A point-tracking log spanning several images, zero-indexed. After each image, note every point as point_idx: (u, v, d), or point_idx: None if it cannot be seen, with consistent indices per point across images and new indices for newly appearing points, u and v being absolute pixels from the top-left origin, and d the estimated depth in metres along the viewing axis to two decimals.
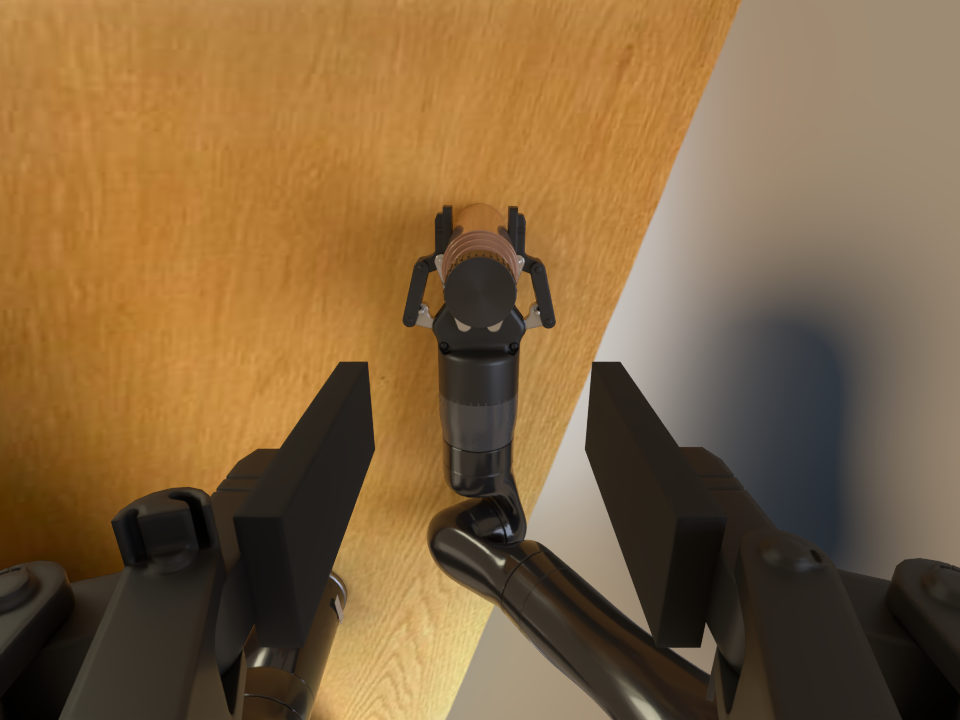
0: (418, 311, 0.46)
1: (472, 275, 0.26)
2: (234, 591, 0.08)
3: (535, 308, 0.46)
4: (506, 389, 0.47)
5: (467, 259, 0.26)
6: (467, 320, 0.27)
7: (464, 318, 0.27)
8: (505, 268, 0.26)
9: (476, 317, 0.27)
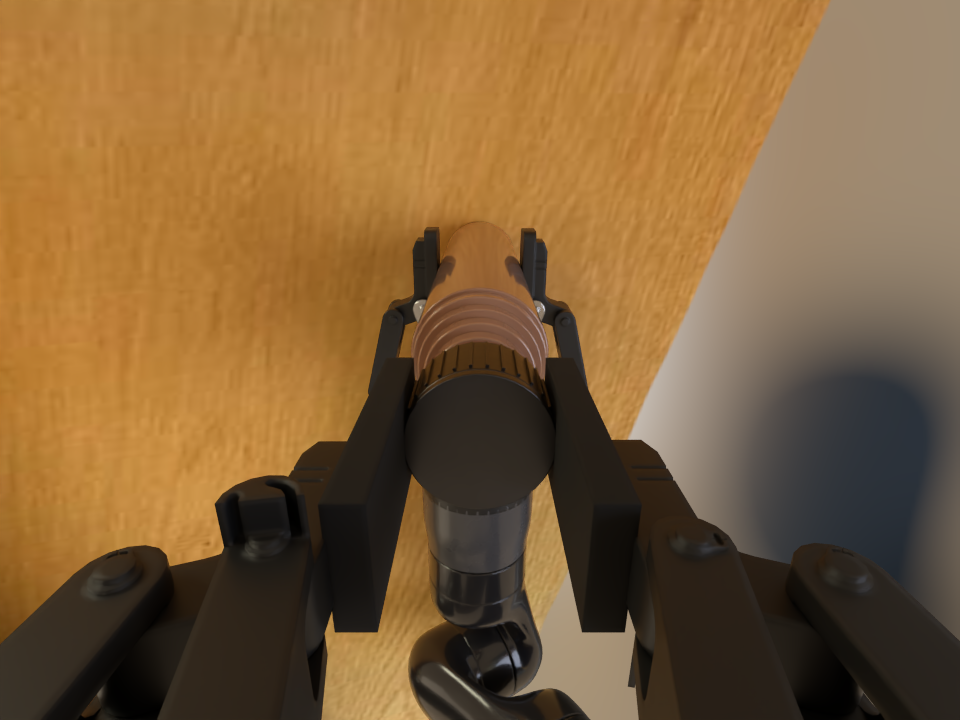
0: None
1: (462, 410, 0.12)
2: (319, 576, 0.08)
3: None
4: None
5: (451, 378, 0.12)
6: (453, 495, 0.13)
7: (446, 492, 0.13)
8: (534, 396, 0.12)
9: (471, 490, 0.13)
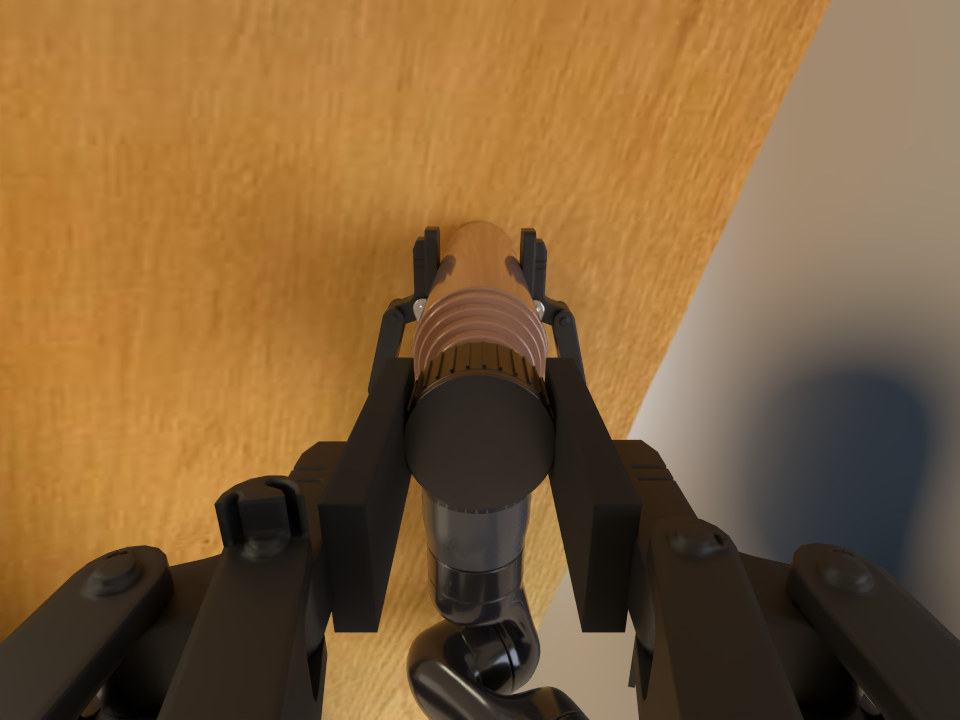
0: None
1: (463, 478, 0.13)
2: (319, 576, 0.08)
3: None
4: None
5: (448, 501, 0.13)
6: (543, 426, 0.12)
7: (544, 433, 0.12)
8: (404, 444, 0.13)
9: (524, 417, 0.12)
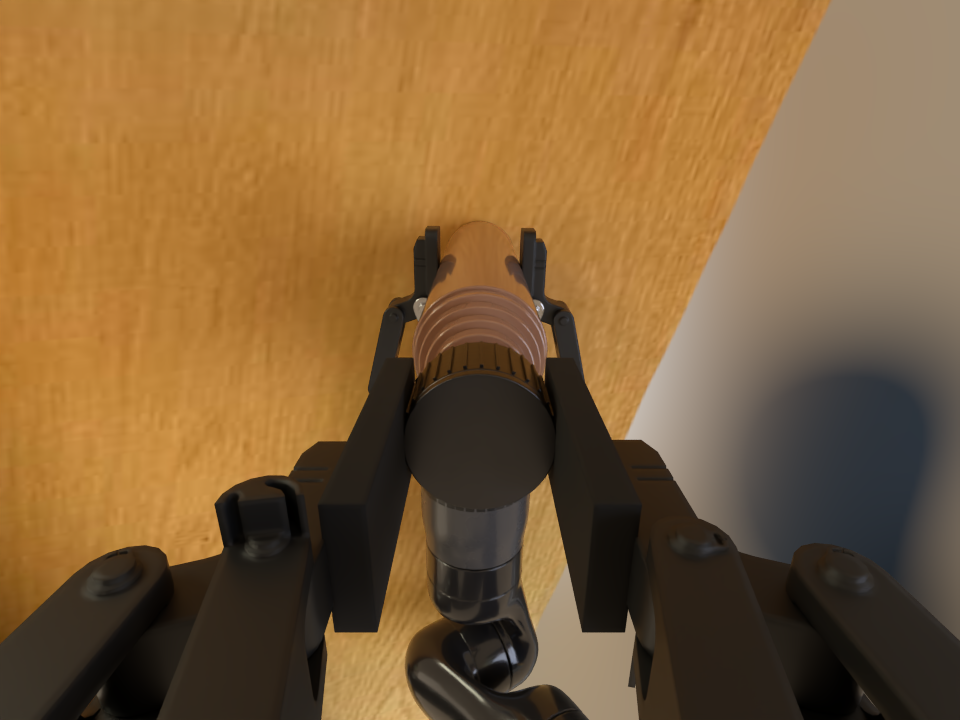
0: None
1: (519, 432, 0.12)
2: (319, 576, 0.08)
3: None
4: None
5: (553, 422, 0.12)
6: (419, 419, 0.12)
7: (424, 413, 0.12)
8: (529, 490, 0.13)
9: (426, 436, 0.12)
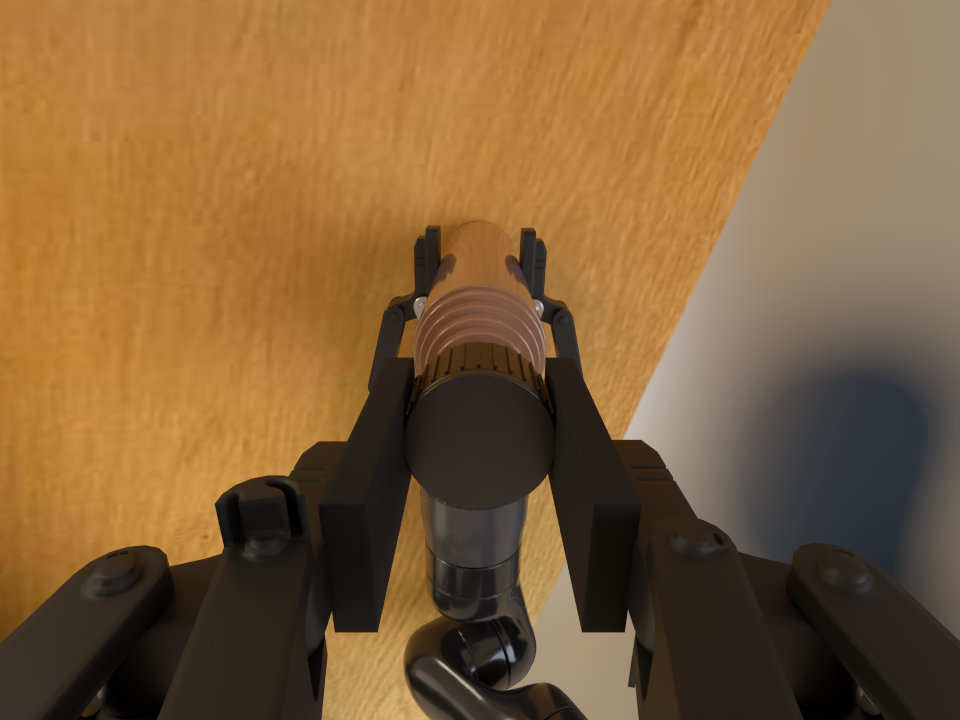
0: None
1: (441, 430, 0.12)
2: (320, 576, 0.08)
3: None
4: None
5: (410, 412, 0.12)
6: (498, 498, 0.13)
7: (491, 499, 0.13)
8: (483, 376, 0.12)
9: (508, 483, 0.13)
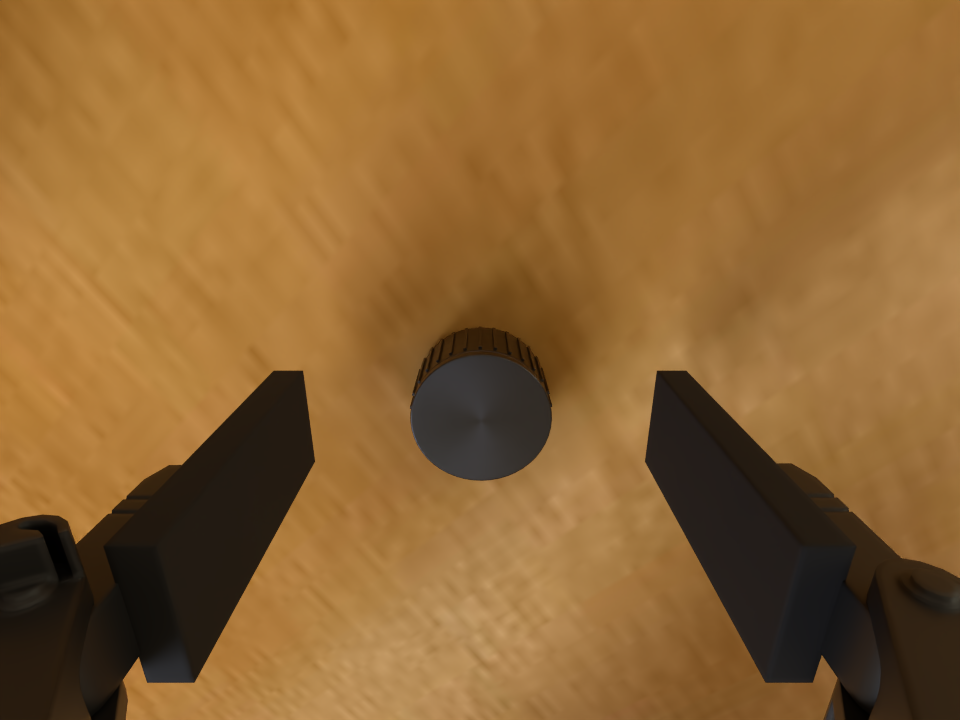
0: None
1: (445, 406, 0.14)
2: (104, 626, 0.07)
3: None
4: None
5: (418, 390, 0.13)
6: (498, 470, 0.14)
7: (491, 471, 0.14)
8: (484, 356, 0.13)
9: (507, 456, 0.14)
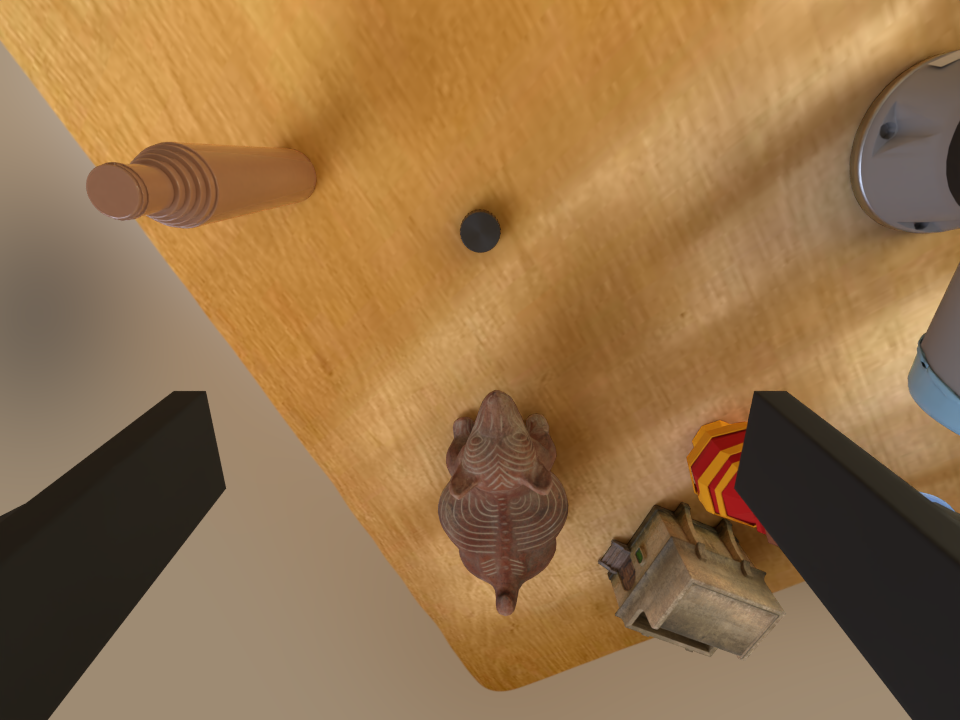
0: None
1: (470, 227, 0.48)
2: None
3: None
4: None
5: (462, 223, 0.48)
6: (485, 248, 0.49)
7: (483, 249, 0.49)
8: (481, 212, 0.48)
9: (487, 244, 0.49)
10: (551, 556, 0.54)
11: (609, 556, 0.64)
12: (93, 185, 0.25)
